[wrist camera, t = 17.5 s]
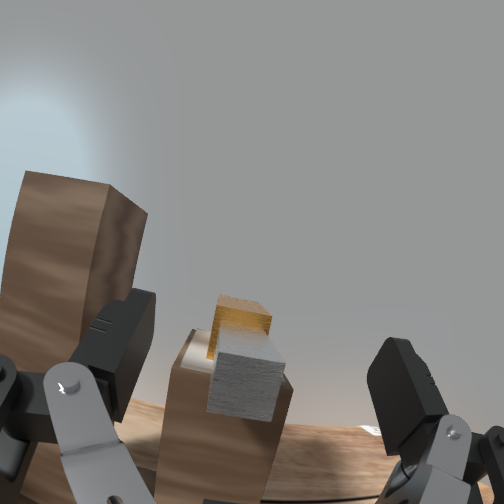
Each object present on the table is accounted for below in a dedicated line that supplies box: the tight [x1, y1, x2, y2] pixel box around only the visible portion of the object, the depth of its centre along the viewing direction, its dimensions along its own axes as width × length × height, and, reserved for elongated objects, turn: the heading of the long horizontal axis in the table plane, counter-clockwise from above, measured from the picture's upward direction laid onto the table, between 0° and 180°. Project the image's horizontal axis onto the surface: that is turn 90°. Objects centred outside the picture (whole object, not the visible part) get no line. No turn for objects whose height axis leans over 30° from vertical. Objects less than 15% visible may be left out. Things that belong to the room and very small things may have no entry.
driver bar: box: [206, 295, 286, 422], centre depth 23 cm, size 19×4×4 cm, turn 5°
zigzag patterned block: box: [0, 171, 293, 504], centre depth 26 cm, size 14×23×32 cm, turn 95°
